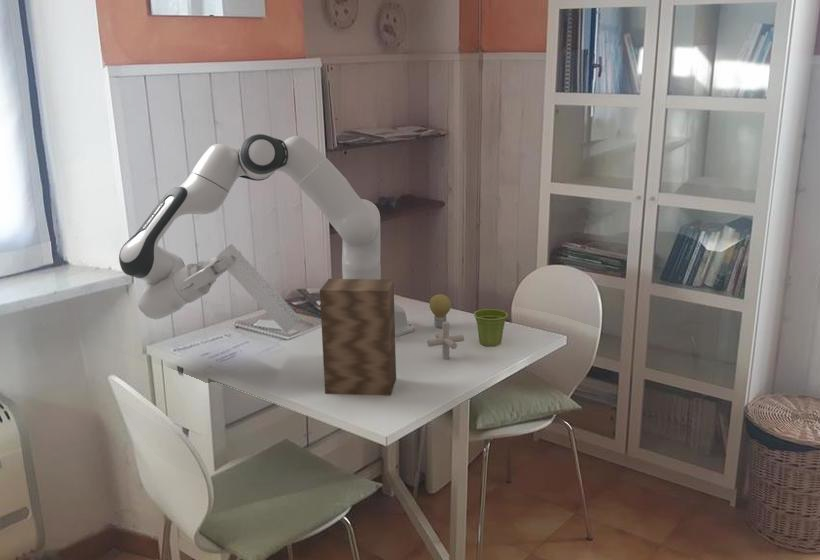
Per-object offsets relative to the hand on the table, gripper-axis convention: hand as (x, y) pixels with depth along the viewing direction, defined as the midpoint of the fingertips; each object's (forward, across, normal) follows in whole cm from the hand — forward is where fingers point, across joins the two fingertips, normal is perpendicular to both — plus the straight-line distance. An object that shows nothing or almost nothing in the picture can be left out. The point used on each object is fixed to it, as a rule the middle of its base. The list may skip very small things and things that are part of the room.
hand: (236, 256), depth 196 cm
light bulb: (+27, +36, +51) cm, 68 cm away
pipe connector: (+30, +10, +52) cm, 61 cm away
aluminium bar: (-2, 0, +10) cm, 10 cm away
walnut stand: (+13, -10, +42) cm, 46 cm away
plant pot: (+40, +23, +58) cm, 74 cm away
